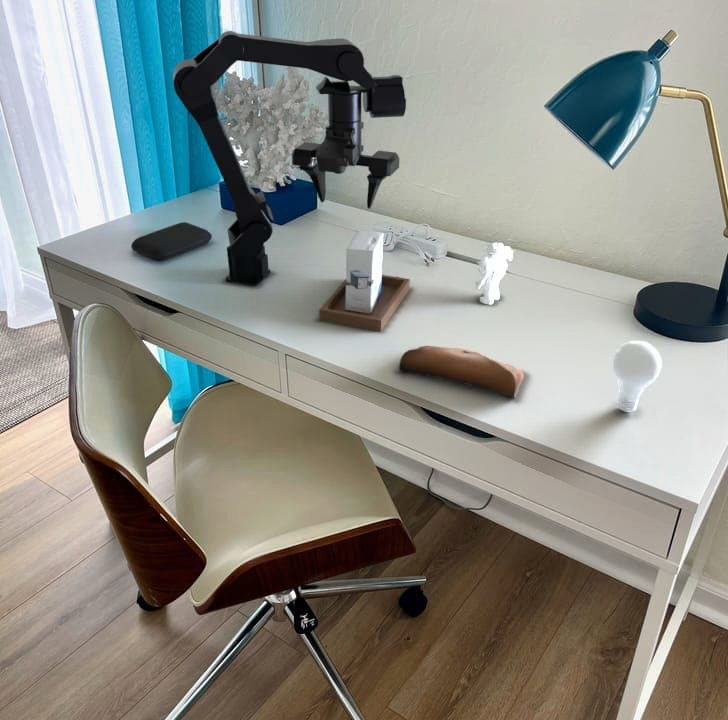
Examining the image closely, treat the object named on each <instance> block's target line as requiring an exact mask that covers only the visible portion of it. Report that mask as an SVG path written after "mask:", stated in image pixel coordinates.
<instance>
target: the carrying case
mask: <svg viewBox="0 0 728 720" xmlns="http://www.w3.org/2000/svg"><path fill="white" fill-rule="evenodd" d="M212 237H213V234H212V233H211V232H210V231H208V230H207V229H205V228H204V227H203V228H202V227H200V226H197V225H194V224H192V223H189V222H186V221H185V222H184V221H182V222H179V223H176V224H173V225H169V226H167V227H164V228H161V229H158V230H156V231H153V232H150V233H147V234H144V235H141V236H139V237H137V238H135V239H134V240H133V242H132V243H131V249H132V250H133V251H134V252H136V254H137V255H141V256H143V257H145V258H148V259H150V260H153V261H154V262H165V261H167V260H170V259H173V258H175V257H178V256H180V255H183V254H185V253H188V252H190V251H194V250H195V249H198V248H200V247H203V246H205V245H208V244H209V242H210V241H211V240H212Z"/></svg>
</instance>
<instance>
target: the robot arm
mask: <svg viewBox="0 0 728 720" xmlns="http://www.w3.org/2000/svg"><path fill="white" fill-rule="evenodd" d="M239 61H240V62H247V63H248V62H249V63H255V64H256V63H257V64H263V65H273V66H274V65H275V66H282V67H292V68H298V69H299V68H301V69H306V70H311V71H313V72H316V73H318V74H321V75H324V77H323V79H322V81H320V82H319V83H318V84H317V85H316V86H315V90H316V91H317V93H318V94H319V95H327V115H328V117H327V118H328V125H327V126H326V127H325V136H324V139H323V141H322V142H321V143H316V142H309V141H307V142H306V141H304V142H303V143H301V144H300V145H298V146H296V147H295V148H294V149H293V150H292V152H291V165H293V166H298V169H299V170H300V171H304V172H305V174H307V175H308V176H309V178H310V180H311V181H312V183H313V186H314V188H315V191H316V193H317V196H318V198H319V202H321V203H324V202H325V200H326V193H327V192H326V191H327V189H326V188H327V187H326V185H327V184H326V183H327V182H326V172H327V173H334V174H335V175H341V174H344V173H345V172H346V169H347V167H356V166H359V167H368V169H367V170H368V172H369V174H368V175H366V178H367V181H368V185H367V197H366V204H367V205H366V206H367V209H371V208H372V207H373V205H374V204H373V203H374V201H375V199H376V196H377V193H378V192H379V191H378V190H379V188H380V186H381V184H382V182H383V180H385V179H386V178H388V177H392V175H393V174H394V173H395V172H396V171H397V170H399V169H400V157H399V155H398V153H397V152H395V151H387V150H377V151H375V153H374V154H372V155H367V154H362V153H363V152H364V145H363V144H362V129H364V121H362V108H363V111H364V113H369V116H370V118H371V119H374V118H375V119H377V118H379V119H380V118H399V117H404V116H405V114H406V109H407V98H406V94H405V93H406V92H405V88H404V83H403V82H404V78H403V77H402V76H401V75H400V74H392V75H389V76H373V75H372V74H371V73H370V72H369V71H368V70H367V69H366V68H365V58H364V55H363V52H362V50H361V49H360V48H359V47H358V46H356V45H355V44H354V43H353V42H351V41H350V40H349V39H346V38H328V39H326V38H325V39H319V40H313V41H302V40H293V39H285V38H278V37H277V38H276V37H270V36H269V37H268V36H262V35H253V34H246V33H238V32H236V31H233V30H226V31H224V32H223V33H221V34H220V36H219V37H218V38H217V39H216V40H214V41H213V42H212V43H210V45H208V46H207V47H205V48H204V49H203V50H201V51H200V52H199V53H198V54H196V55H195V56H194V57H193V58H188V59H184V60H181V61H180V62H178V64H177V65H176V66H175V68H174V70H173V89H174V92H175V94H176V96H177V97H178V99H179V100H180V102H181V103H182V105H183V106H184V107H185V109H186V110H187V112H188V113H189V114H190V116H192V118H193V119H194V121H195V122H196V123H197V125H198V127H199V128H200V131H201V133H202V135H203V137H204V140H205V142H206V145H207V146H208V149H209V150H210V153H211V155H212V158H213V160H214V162H215V164H216V167H217V168H218V171H219V174H220V175H221V178H222V179H223V182H224V184H225V186H226V189H227V190H228V193H229V195H230V197H231V200H232V204H233V208H234V212H235V217H236V219H235V220H234V222H233V223H232V224H231V225H230V226H229V227H228V228H227V236H228V242H229V245H227V246H226V255H227V263H228V273H229V274H228V275H227V276H225V282H229V283H235V284H241V285H246V286H251V287H257V286H258V285H259V284H260V283H262V282H263V281H264V280H265V279H266V278H267V277H268V276H269V275H270V274H271V273H272V272H271V269H270V268H269V258H268V257H269V256H268V254H267V253H266V246H265V243H267V242H268V240H270V238H271V237H272V235H273V231H274V229H273V225H272V223H273V224H274V223H275V220H274V216H273V212H272V210H271V208H270V207H269V205H268V204H267V201H266V198H265V194H264V191H263V190H261V191H259V192H257V193H255V191H254V189H252V187H251V185H250V183H249V182H248V179H247V177H246V174H245V173H244V170H243V167H242V165H241V163H240V161H239V158H238V156H237V153H236V151H235V149H234V146H233V144H232V142H231V139H230V138H229V136H228V132H227V130H226V128H225V125H224V123H223V120H222V118H221V116H220V114H219V110H218V107H217V103H216V99H215V98H216V97H215V94H214V91H213V85H215V84H216V83H217V82H219V80H220V79H221V78H222V77H223V75H224V74H225V73H226V72H227V71H228V70H229V69H230V68H231V67H232V66H233V65H234V64H235V63H236V62H239ZM328 77H330V78H332V79H335V80H336V81H331V80H330V79H329V78H328ZM352 81H353V82H355V83H356V84H357V85H350V83H349V82H352Z"/></svg>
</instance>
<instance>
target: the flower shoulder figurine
mask: <svg viewBox="0 0 728 720" xmlns="http://www.w3.org/2000/svg"><path fill="white" fill-rule="evenodd" d="M483 252H484V253H486V254H487V257H486V256H484V257H483V256H481V258H480V260H478V261H477V262H476V264H478V265H476V268H477V270H478V272H479V273H480V274H481V275H480V277H479V278H478V280H477V281H476V282H475V284H474V286H475V288H476V290H480V289H481V287H482V286H483V285H484V288H483V296H481V297H479V302H480V303H482V304H485V305H493V304H494V301H498V300H499V299H500V289H499V284H500V280H501V279H502V278H503V277H504V276H505V275H506V272H507V269H508V268H509V267H508V263H507V260H508V261H509V262H511V261H512V260H513V257H514V256H513V253H514V250H512V249H511V246H509V245H504V244H503V243H502V242H496V241H495V242H491V243H489V244H487V246H485V247H484V248H483ZM481 269H483V270H481Z"/></svg>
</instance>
